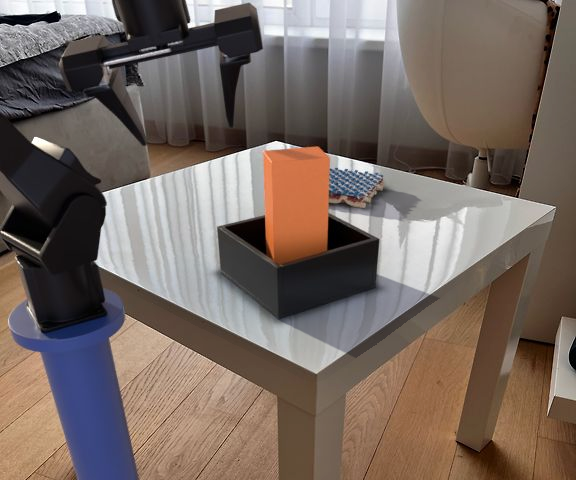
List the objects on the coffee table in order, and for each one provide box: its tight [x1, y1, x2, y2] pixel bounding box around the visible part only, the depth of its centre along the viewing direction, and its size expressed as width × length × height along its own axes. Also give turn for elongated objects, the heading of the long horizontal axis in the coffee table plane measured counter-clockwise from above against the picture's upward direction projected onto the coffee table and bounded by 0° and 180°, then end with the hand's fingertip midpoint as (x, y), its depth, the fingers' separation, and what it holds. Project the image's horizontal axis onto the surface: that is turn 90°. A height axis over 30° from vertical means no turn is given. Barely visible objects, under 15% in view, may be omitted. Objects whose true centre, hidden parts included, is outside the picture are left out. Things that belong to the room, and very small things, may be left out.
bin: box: [216, 212, 380, 320], centre depth 65 cm, size 12×12×6 cm
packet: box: [262, 146, 331, 264], centre depth 62 cm, size 6×4×13 cm
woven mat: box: [329, 167, 386, 209], centre depth 89 cm, size 10×11×2 cm
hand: (188, 135), depth 64 cm, fingers open, 9 cm apart
